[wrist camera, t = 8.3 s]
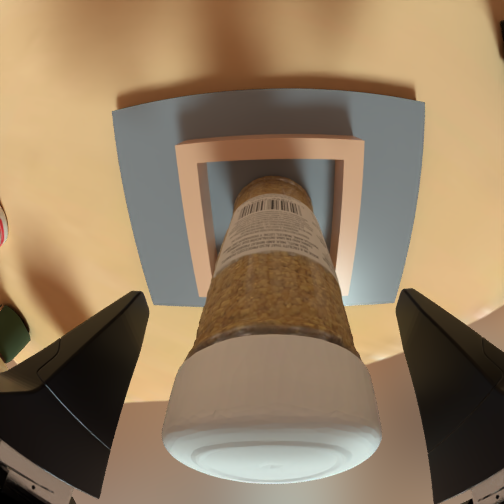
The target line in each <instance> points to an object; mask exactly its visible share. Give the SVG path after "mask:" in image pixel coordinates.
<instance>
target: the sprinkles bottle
mask: <svg viewBox="0 0 504 504" xmlns="http://www.w3.org/2000/svg"><path fill="white" fill-rule="evenodd" d="M381 439H382V430H381V423H380V417H379V412H378V408H377V402H376V397H375V393H374V389H373V385H372V381H371V377H370V374H369V371H368V369H367V367H366V366H365V365H364V363H363V362H362V361H361V358H360V355H359V353H358V352H357V351H356V349H355V347H354V343H353V336H352V334H351V330H350V326H349V323H348V319H347V315H346V312H345V308H344V304H343V301H342V293H341V288H340V285H339V281H338V278H337V275H336V272H335V269H334V266H333V263H332V260H331V257H330V254H329V251H328V249H327V246H326V243H325V240H324V237H323V234H322V231H321V229H320V226H319V223H318V221H317V219H316V217H315V215H314V214H313V206H312V202H311V199H310V197H309V196H308V194H307V193H306V191H305V190H304V189H303V188H302V187H301V186H300V185H299V184H297V183H296V182H295V181H293V180H291V179H289V178H285V177H281V176H265V177H262V178H258V179H256V180H253V181H252V182H251V183H249V184H248V185H247V186H246V187H244V188H243V189H242V190H241V192H240V193H239V195H238V196H237V198H236V200H235V203H234V210H233V216H232V219H231V222H230V225H229V228H228V230H227V232H226V234H225V237H224V240H223V243H222V246H221V249H220V252H219V255H218V258H217V261H216V265H215V270H214V273H213V276H212V279H211V284H210V287H209V290H208V293H207V298H206V303H205V305H204V307H203V312H202V315H201V319H200V322H199V327H198V330H197V337H196V340H195V342H194V346H193V348H192V349H191V350H190V352H189V354H188V356H187V357H186V359H185V361H184V363H183V364H182V365H181V367H180V368H179V370H178V373H177V375H176V378H175V381H174V385H173V388H172V392H171V395H170V399H169V403H168V407H167V411H166V415H165V419H164V424H163V428H162V440H163V443H164V446H165V447H166V449H167V450H168V452H169V453H170V454H171V455H172V456H173V457H174V458H176V459H177V460H178V461H179V462H181V463H183V464H185V465H187V466H188V467H190V468H192V469H195V470H197V471H200V472H202V473H205V474H209V475H211V476H215V477H219V478H223V479H228V480H234V481H240V482H248V483H262V484H281V483H282V484H283V483H297V482H304V481H311V480H316V479H321V478H324V477H328V476H332V475H335V474H338V473H341V472H344V471H346V470H349V469H351V468H353V467H355V466H357V465H359V464H360V463H362V462H363V461H365V460H366V459H368V458H369V457H370V456H371V455H372V454H373V453H374V452H375V451H376V449H377V448H378V446H379V444H380V442H381Z"/></svg>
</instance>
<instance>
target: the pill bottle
mask: <svg viewBox="0 0 504 504" xmlns="http://www.w3.org/2000/svg"><path fill="white" fill-rule="evenodd" d="M7 236H8V225H7V220H6V216H5V214H4V211H3V209H2V208H1V206H0V246H1V245H2V244H4V243H5V241H6V239H7Z"/></svg>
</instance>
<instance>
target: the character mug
mask: <svg viewBox="0 0 504 504" xmlns="http://www.w3.org/2000/svg"><path fill="white" fill-rule="evenodd" d="M1 306H2V305H0V307H1ZM29 341H30V335H29V333H28V331H27V329H26V327H25V326H24V324H23V322H22V320H21V318H20V317H19V316H18V315H17V314H16V313H15V312H14V311H13V310H12V309H11V308H10V307H8V306H7V305H5V306H4V307H3V308H2V310H1V311H0V373H1V372H5V371H7V370H8V368H7V366H6V365H5V363H8V362H10V361H11V360H12V359H13V358H14V357H15V356H16V355H17V354H18V353H19V352H20V351H21V350H22V349H23V348H24V347H25V346H26V345H27V343H28V342H29Z"/></svg>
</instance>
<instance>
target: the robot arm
mask: <svg viewBox="0 0 504 504" xmlns="http://www.w3.org/2000/svg"><path fill="white" fill-rule="evenodd" d="M501 28H502V33H503V39H504V20H502V21H501ZM396 316H397V321H398V326H399V330H400V335H401V340H402V345H403V350H404V353H405V357H406V360H407V364H408V367H409V371H410V375H411V378H412V382H413V386H414V390H415V394H416V398H417V402H418V406H419V411H420V415H421V419H422V425H423V429H424V434H425V440H426V445H427V452H428V459H429V466H430V473H431V481H432V490H433V501H434V504H439V503H441V502H444V501H446V500H448V499H451V498H453V497H455V496H458V495H460V494H462V493H464V492H466V491H468V490H470V489H471V494H472V499H470V500H468V501H466V502H464V503H462V504H504V352H502V351H501V350H500V349H498V348H497V347H496V346H494V345H493V344H491V343H490V342H489V341H487V340H486V339H485V338H483V337H481V335H479V334H478V333H477V332H475V331H474V330H472V329H471V328H470V327H468V326H467V325H465V324H464V323H463V322H461V321H460V320H458V319H457V318H456V317H454V316H453V315H451V314H450V313H448V312H447V311H446V310H444V309H443V308H441V307H440V306H438V305H437V304H435V303H434V302H432V301H431V300H430V299H428V298H427V297H425V296H424V295H422V294H421V293H419V292H418V291H416V290H415V289H412V288H409V289H403V290H402V291H401V293H400V296H399V300H398V303H397V306H396ZM148 318H149V308H148V305H147V302H146V299H145V296H144V294H143V292H141V291H131V292H129V293H128V294H126V295H125V296H123V297H121V298H120V299H118V300H117V301H115V302H114V303H112V304H111V305H109V306H108V307H106V308H105V309H103V310H101V311H100V312H98V313H97V314H95V315H94V316H92V317H91V318H89V319H88V320H86V321H85V322H83V323H82V324H80V325H79V326H77V327H76V328H74V329H73V330H71V331H70V332H68V333H67V334H65V335H64V336H62V337H61V339H60V338H59V339H58V340H56V341H55V342H54V343H52V344H51V345H49V346H48V347H46V348H44V349H43V350H41V351H40V352H38V353H36V354H35V355H33V356H31V357H30V358H28V359H26V360H25V361H23V362H21V363H20V364H18V365H16V366H15V367H13V368H11V369H9V370H7V371H5V372H1V373H0V504H76V503H75V501H74V499H73V497H71V495H72V492H73V489H74V488H75V489H77V490H79V491H81V492H84V493H86V494H88V495H90V496H93V497H95V498H98V499H99V497H100V494H101V489H102V484H103V480H104V476H105V471H106V467H107V463H108V458H109V455H110V449H111V446H112V442H113V439H114V435H115V431H116V427H117V424H118V421H119V417H120V414H121V410H122V407H123V404H124V400H125V397H126V394H127V391H128V387H129V384H130V381H131V378H132V375H133V372H134V369H135V366H136V363H137V360H138V357H139V354H140V351H141V347H142V343H143V339H144V334H145V330H146V326H147V322H148Z"/></svg>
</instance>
